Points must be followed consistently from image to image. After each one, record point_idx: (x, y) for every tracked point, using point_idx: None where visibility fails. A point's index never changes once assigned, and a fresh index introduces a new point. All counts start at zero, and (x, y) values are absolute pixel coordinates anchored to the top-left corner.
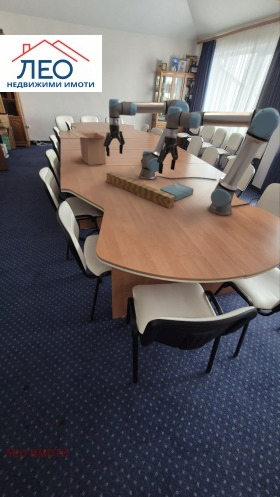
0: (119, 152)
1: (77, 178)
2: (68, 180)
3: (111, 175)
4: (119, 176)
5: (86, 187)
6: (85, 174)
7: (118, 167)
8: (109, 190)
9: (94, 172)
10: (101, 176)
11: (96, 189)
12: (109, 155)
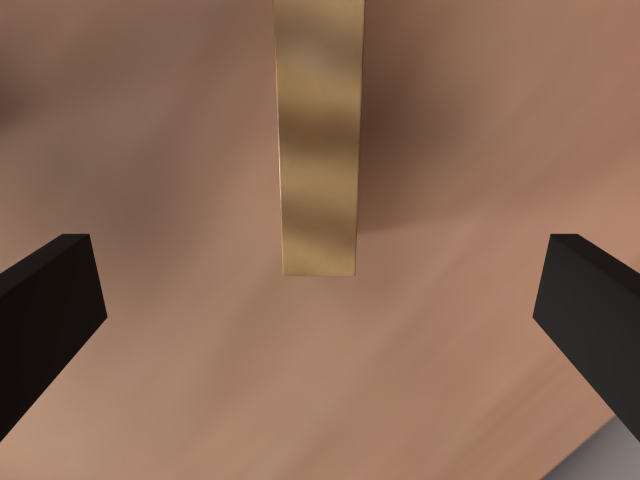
0: (95, 327)
1: (480, 424)
2: (561, 428)
3: (357, 183)
4: (322, 66)
5: (590, 236)
6: (368, 455)
7: (7, 438)
8: (505, 28)
9: (277, 452)
10: (292, 358)
11: (571, 140)
12: (570, 243)
